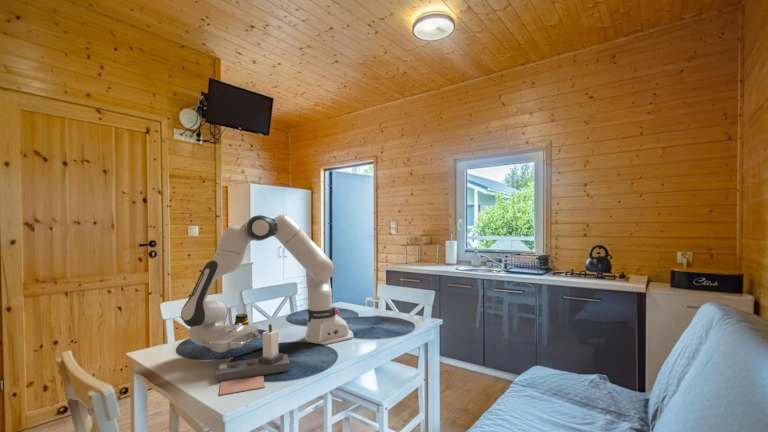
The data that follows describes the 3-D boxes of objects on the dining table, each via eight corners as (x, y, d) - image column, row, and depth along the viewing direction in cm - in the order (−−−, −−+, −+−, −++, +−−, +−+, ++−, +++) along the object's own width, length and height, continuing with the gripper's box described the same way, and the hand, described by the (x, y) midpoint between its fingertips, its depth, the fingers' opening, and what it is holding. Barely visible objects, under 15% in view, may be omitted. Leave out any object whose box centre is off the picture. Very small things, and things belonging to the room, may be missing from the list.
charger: (270, 358, 141) (269, 321, 141) (278, 359, 139) (278, 323, 139) (262, 362, 137) (262, 325, 137) (271, 363, 136) (271, 326, 135)
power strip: (287, 361, 145) (287, 348, 145) (289, 370, 136) (289, 357, 136) (218, 371, 136) (218, 358, 136) (216, 382, 127) (216, 368, 127)
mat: (263, 376, 132) (263, 375, 132) (264, 387, 123) (264, 386, 123) (221, 383, 127) (221, 382, 127) (219, 395, 118) (219, 394, 118)
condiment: (252, 338, 172) (252, 313, 171) (242, 345, 163) (242, 318, 163) (238, 337, 173) (238, 312, 173) (227, 344, 164) (227, 317, 164)
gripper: (202, 337, 137) (230, 341, 132) (242, 321, 156) (268, 325, 151) (202, 354, 137) (230, 359, 132) (242, 336, 156) (268, 340, 151)
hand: (251, 340), depth 142 cm, fingers open, 8 cm apart
